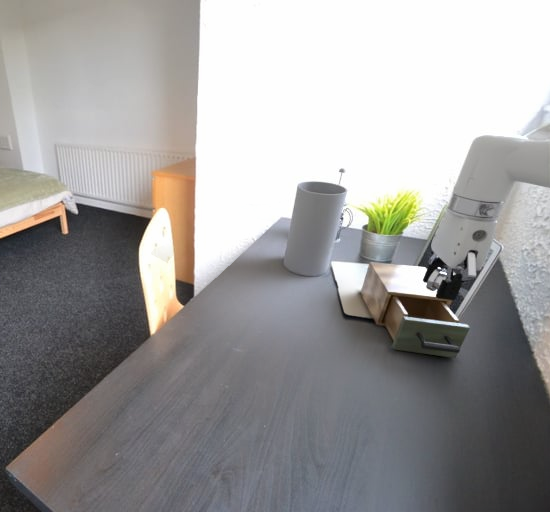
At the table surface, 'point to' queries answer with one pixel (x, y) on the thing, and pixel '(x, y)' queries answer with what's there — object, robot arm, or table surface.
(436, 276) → the grooved metal pulley
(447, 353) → the drawer
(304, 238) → the cylinder vase
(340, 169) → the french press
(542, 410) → the table surface
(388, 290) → the cabinet
